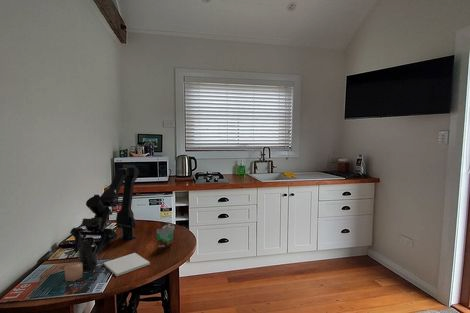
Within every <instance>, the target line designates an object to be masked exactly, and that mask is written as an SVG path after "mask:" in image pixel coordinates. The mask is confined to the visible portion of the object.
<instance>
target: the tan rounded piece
mask: <svg viewBox="0 0 470 313" xmlns="http://www.w3.org/2000/svg"><path fill="white" fill-rule="evenodd" d="M63 268H64V281H65V280H66V281H65V282H67V281H73V282H76V281H75V280H77V281H79V280H81V279H83V277H84V270H83V265H82V262H79V261H73V262H71V263H70V262H69V263H67V264H66V265H65V266H64V267H63ZM80 278H81V279H80ZM78 279H79V280H78Z"/></svg>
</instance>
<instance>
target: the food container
mask: <svg viewBox="0 0 470 313" xmlns="http://www.w3.org/2000/svg"><path fill="white" fill-rule="evenodd" d="M174 230H175V225H174V223H173V222H169V221H167V222H166V224H165V225H163V226H161V227H160V228H156V235H157V249H167V248H170V247H172V246H173V244H174V243H173V240H174V238H173V237H174Z"/></svg>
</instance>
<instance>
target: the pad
mask: <svg viewBox="0 0 470 313" xmlns="http://www.w3.org/2000/svg"><path fill="white" fill-rule="evenodd" d="M150 264H151V262H150V261H149V260H148V259H146V258H144V257H142V255H139V254H138V253H136V252H133V253H129V254H127V255H124V256H120V257H117V258H114V259H112V260H108V261H105V262H103V266H104V267H105V268H106V269H108V271H109V272H111V273H112V274H114V276H116V277H119V276H121V275H125V274H127V273H131V272H133V271H136V270H138V269H142V268H144V267H147V266H149V265H150Z"/></svg>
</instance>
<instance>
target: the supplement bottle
mask: <svg viewBox="0 0 470 313" xmlns="http://www.w3.org/2000/svg"><path fill="white" fill-rule="evenodd" d="M97 247H98V244H96V243H95V240H94V237H90V236H88V237H87V236H86V237H85V238H83V239H81V246H80V247H79V250H78V260H79V261H78V262H82V265H83V271H89V270H92V269H94V268H96V267H97V266H98V262H99V261H98V253H97V254H96V249H97Z"/></svg>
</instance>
